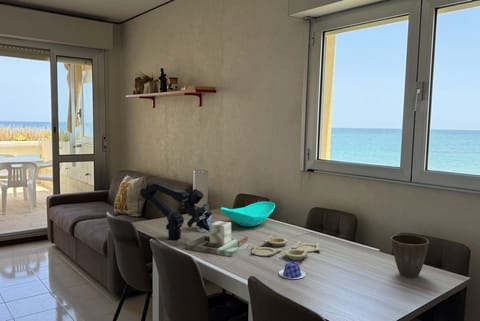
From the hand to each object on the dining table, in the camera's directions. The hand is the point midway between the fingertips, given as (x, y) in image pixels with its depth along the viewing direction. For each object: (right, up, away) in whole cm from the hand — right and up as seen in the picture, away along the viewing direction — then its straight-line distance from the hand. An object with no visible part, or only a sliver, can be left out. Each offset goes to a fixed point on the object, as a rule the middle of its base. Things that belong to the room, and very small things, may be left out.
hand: (209, 230), depth 211 cm
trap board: (+5, -8, -6) cm, 11 cm away
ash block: (+6, -5, -3) cm, 9 cm away
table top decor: (+23, -4, +40) cm, 47 cm away
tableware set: (+41, -9, -11) cm, 44 cm away
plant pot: (+91, -11, -45) cm, 102 cm away
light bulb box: (-5, -5, +30) cm, 31 cm away
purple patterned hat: (+40, -12, -44) cm, 61 cm away
